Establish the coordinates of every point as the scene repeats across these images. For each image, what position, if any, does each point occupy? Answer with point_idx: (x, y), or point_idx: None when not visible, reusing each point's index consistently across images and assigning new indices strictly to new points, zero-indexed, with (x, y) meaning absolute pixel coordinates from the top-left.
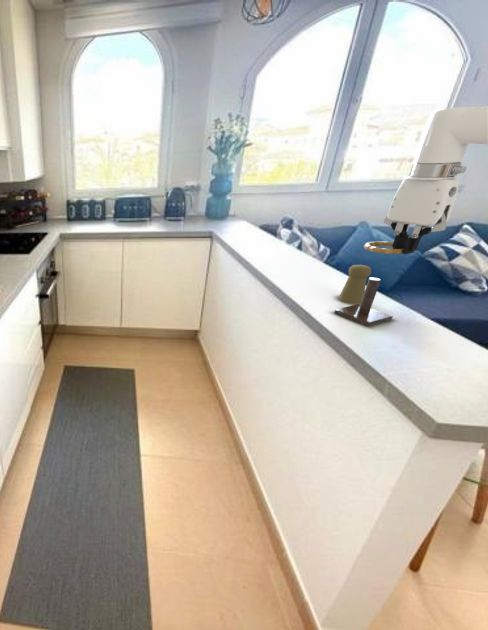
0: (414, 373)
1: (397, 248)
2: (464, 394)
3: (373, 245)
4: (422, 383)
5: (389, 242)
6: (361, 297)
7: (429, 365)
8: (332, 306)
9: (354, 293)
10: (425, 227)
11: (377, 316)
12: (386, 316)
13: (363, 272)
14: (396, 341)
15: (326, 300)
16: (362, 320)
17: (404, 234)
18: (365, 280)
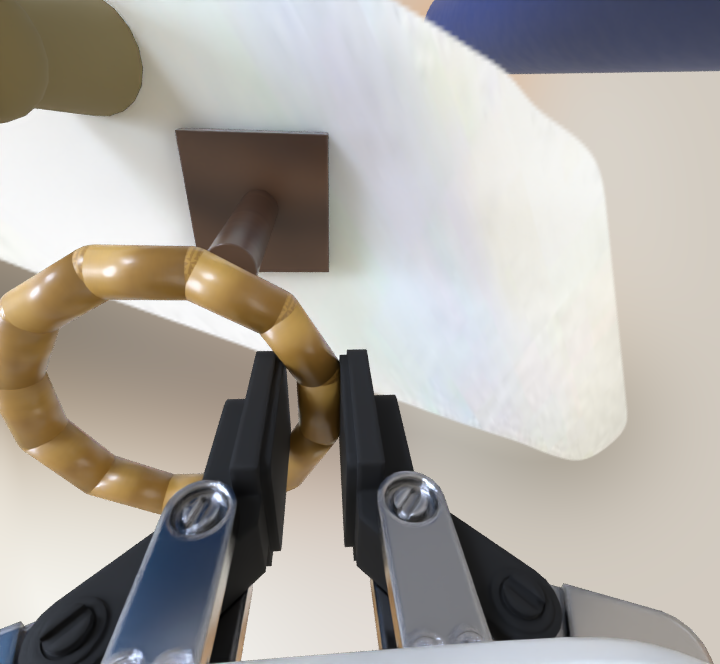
0: (519, 386)
1: (289, 443)
2: (600, 379)
3: (51, 388)
4: (540, 404)
5: (67, 305)
6: (123, 59)
7: (528, 333)
8: (142, 212)
9: (100, 98)
10: (450, 617)
11: (306, 196)
12: (320, 164)
13: (24, 95)
14: (429, 284)
15: (70, 173)
16: (306, 271)
17: (265, 531)
18: (52, 43)
